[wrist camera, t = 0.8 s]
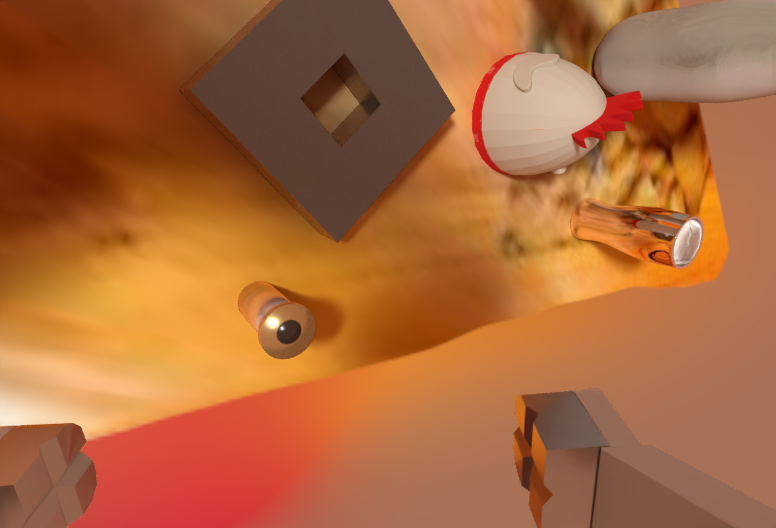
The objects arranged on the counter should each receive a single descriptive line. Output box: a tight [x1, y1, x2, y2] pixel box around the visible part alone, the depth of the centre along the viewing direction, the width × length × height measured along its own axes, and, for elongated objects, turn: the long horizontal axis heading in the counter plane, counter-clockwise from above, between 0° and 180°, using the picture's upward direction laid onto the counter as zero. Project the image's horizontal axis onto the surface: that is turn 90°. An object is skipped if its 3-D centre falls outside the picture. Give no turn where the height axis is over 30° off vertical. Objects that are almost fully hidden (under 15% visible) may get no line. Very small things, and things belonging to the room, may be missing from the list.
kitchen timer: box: [472, 52, 644, 175], centre depth 55 cm, size 14×14×15 cm
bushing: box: [238, 281, 316, 359], centre depth 47 cm, size 5×5×8 cm
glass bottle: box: [594, 0, 776, 103], centre depth 55 cm, size 10×10×28 cm
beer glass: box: [570, 198, 704, 269], centre depth 67 cm, size 7×7×15 cm
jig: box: [179, 0, 455, 243], centre depth 46 cm, size 18×18×4 cm
